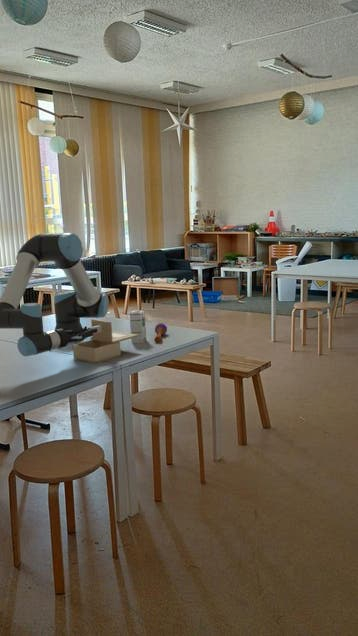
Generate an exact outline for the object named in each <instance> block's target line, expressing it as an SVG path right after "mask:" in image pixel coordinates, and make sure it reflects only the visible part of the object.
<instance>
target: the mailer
mask: <svg viewBox="0 0 358 636" xmlns="http://www.w3.org/2000/svg"><path fill="white" fill-rule="evenodd" d="M72 352H73V355H72V356H73V360H79V361H83V362H88V363H93V364H98V363H102V362H105V361H109V360H111V359H114V358H117V357H118V358H119V357H120V356H121V357H122V353H121V352H122V351H121V341H120V342H116V343H108V342H103V341H97V340H91V339H90V340H86V341H82V342H79V343H75V344H73V345H72Z"/></svg>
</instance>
